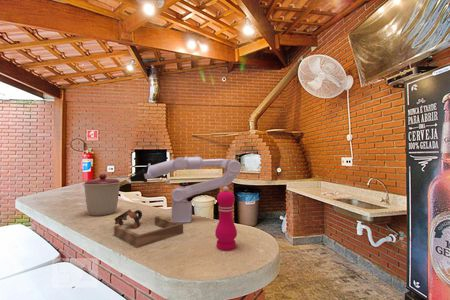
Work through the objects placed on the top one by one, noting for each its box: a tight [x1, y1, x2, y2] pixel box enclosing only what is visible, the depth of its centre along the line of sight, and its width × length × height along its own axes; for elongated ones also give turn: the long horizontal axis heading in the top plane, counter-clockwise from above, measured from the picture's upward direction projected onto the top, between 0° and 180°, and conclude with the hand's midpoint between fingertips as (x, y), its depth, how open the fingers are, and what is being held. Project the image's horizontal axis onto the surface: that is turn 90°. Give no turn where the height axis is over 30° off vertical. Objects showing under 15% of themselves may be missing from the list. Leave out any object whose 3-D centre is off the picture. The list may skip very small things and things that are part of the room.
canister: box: [82, 173, 122, 217], centre depth 122 cm, size 18×18×21 cm
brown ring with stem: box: [113, 209, 143, 230], centre depth 100 cm, size 12×10×8 cm
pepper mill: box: [214, 185, 238, 251], centre depth 77 cm, size 7×7×20 cm
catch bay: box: [113, 215, 184, 248], centre depth 89 cm, size 18×19×4 cm
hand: (133, 177), depth 107 cm, fingers open, 7 cm apart
